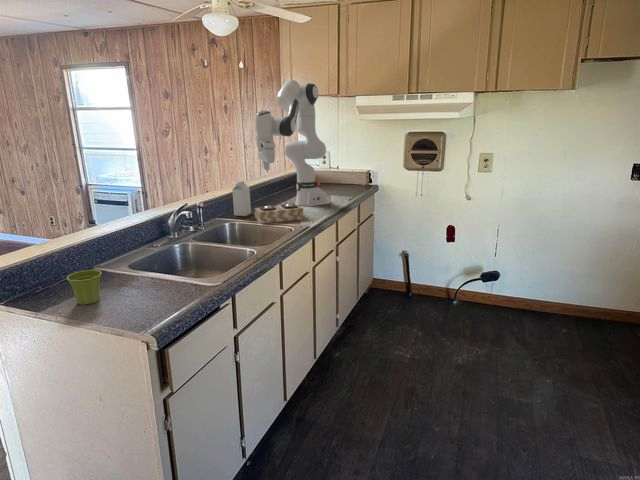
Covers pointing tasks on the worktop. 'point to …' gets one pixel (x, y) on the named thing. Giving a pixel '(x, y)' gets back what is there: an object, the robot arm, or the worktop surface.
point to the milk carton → (241, 199)
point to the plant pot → (85, 286)
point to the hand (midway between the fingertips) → (266, 169)
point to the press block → (278, 213)
